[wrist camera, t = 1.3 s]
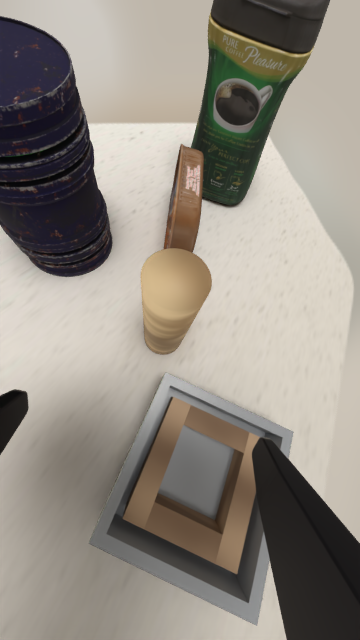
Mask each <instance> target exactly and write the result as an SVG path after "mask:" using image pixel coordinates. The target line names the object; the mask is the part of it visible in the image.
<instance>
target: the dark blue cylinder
mask: <svg viewBox="0 0 360 640" xmlns="http://www.w3.org/2000/svg"><path fill="white" fill-rule="evenodd" d="M93 167H94V149H93V146H92V143H91V141H90V135H89V129H88V124H87V120H86V115H85V112H84V109H83V107H82V105H81V101H80V96H79V93H78V89H77V87H76V79H75V74H74V70H73V66H72V61H71V58H70V55H69V53H68V51H67V50H66V48H65V47H64V46H63V45H62V44H61V43H60V42H59V41H58V40H57V39H56V38H54V37H53V36H52V35H50V34H48V33H47V32H45V31H43V30H41V29H39V28H37V27H35V26H32V25H30V24H27V23H24V22H22V21H18V20H15V19H11V18H7V17H2V16H0V225H1V227H2V228H3V230H4V231H5V232H6V234H7V235H8V236H9V237H10V238H11V239H12V240H13V242H14V243H15V244H16V245H17V246H18V247H19V248H20V250H21V251H22V252H24V253H25V254H26V255H27V256H28V257H29V258H30V260H31V261H32V262H33V263H34V264H35V265H36V266H37V267H38V268H40V269H41V270H43V271H45V272H46V273H49V274H52V275H56V276H63V277H71V276H79V275H83V274H86V273H89V272H91V271H93V270H95V269H96V268H98V267H99V266H100V265H101V264H103V263H104V261H105V260H106V259H107V258H108V256H109V254H110V252H111V249H112V236H111V232H110V224H109V218H108V214H107V207H106V203H105V201H104V199H103V196H102V194H101V192H100V190H99V189H98V186H97V182H96V178H95V174H94V169H93Z"/></svg>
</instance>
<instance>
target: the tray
mask: <svg viewBox="0 0 360 640" xmlns="http://www.w3.org/2000/svg"><path fill="white" fill-rule="evenodd" d="M171 397H175V398H177V399H180V400H182V401H184V402H186V403H188V404H190V405H192V406H194V407H197V408H199V409H201V410H203V411H205V412H207V413H209V414H211V415H214V416H216V417H218V418H220V419H222V420H224V421H226V422H229V423H231V424H233V425H235V426H237V427H239V428H241V429H243V430H246V431H248V432H250V433H252V434H254V435H256V436H258V437H265V438H270V439H271V440H273V442H274V443H275V444H276V445H277V446H278V447H279V449H280V450H281V451H282V452H283V453H284V455H285V456H286V457H287V458H289V453H290V447H291V442H292V437H293V431H291V430H288V429H286V428H284V427H282V426H280V425H278V424H276V423H273V422H271V421H269V420H267V419H265V418H263V417H261V416H259V415H256V414H254V413H252V412H250V411H248V410H246V409H244V408H241V407H239V406H237V405H235V404H233V403H231V402H229V401H226V400H224V399H222V398H220V397H218V396H216V395H214V394H211V393H209V392H207V391H205V390H203V389H201V388H199V387H196V386H194V385H192V384H190V383H188V382H186V381H184V380H181V379H179V378H177V377H175V376H173V375H171V374H169V373H165V374H164V376H163V378H162V380H161V382H160V385H159V387H158V389H157V391H156V393H155V396H154V398H153V400H152V402H151V404H150V407H149V409H148V411H147V413H146V416H145V418H144V420H143V422H142V424H141V427H140V429H139V431H138V433H137V435H136V438H135V440H134V442H133V444H132V447H131V449H130V451H129V453H128V455H127V458H126V460H125V462H124V464H123V466H122V469H121V471H120V473H119V475H118V477H117V480H116V482H115V484H114V486H113V489H112V491H111V493H110V495H109V497H108V500H107V502H106V504H105V506H104V508H103V511H102V513H101V515H100V517H99V520H98V522H97V525H96V527H95V530H94V532H93V534H92V537H91V539H90V542H89V544H91V545H93V546H95V547H97V548H99V549H101V550H103V551H105V552H107V553H109V554H111V555H113V556H115V557H117V558H119V559H121V560H123V561H125V562H127V563H130V564H132V565H134V566H136V567H138V568H140V569H142V570H144V571H146V572H148V573H150V574H152V575H154V576H156V577H158V578H160V579H162V580H164V581H166V582H168V583H170V584H172V585H174V586H177V587H179V588H181V589H183V590H185V591H187V592H189V593H191V594H193V595H195V596H197V597H199V598H201V599H203V600H205V601H207V602H209V603H211V604H213V605H215V606H217V607H219V608H221V609H224V610H226V611H228V612H230V613H232V614H234V615H236V616H238V617H240V618H242V619H244V620H246V621H248V622H250V623H252V624H254V625H256V626H257V623H258V617H259V612H260V607H261V601H262V596H263V591H264V586H265V580H266V575H267V570H268V564H269V559H270V558H269V554H268V549H267V544H266V539H265V535H264V530H263V525H262V521H261V516H260V511H259V506H258V501H257V494H255V498H254V502H253V507H252V511H251V515H250V520H249V524H248V528H247V533H246V537H245V542H244V546H243V550H242V555H241V559H240V563H239V568H238V572H237V574H235V573H233V572H231V571H229V570H227V569H225V568H223V567H221V566H218V565H216V564H214V563H212V562H210V561H208V560H206V559H204V558H202V557H200V556H198V555H196V554H194V553H192V552H190V551H188V550H186V549H183V548H181V547H179V546H177V545H175V544H173V543H171V542H169V541H167V540H165V539H163V538H161V537H159V536H157V535H155V534H153V533H150V532H148V531H146V530H144V529H142V528H140V527H138V526H136V525H134V524H132V523H130V522H128V521H126V520H124V519H123V514H124V509H125V505H126V503H127V501H128V498H129V496H130V493H131V491H132V489H133V486H134V484H135V482H136V479H137V477H138V474H139V472H140V470H141V467H142V465H143V463H144V460H145V458H146V455H147V453H148V451H149V448H150V446H151V444H152V441H153V439H154V436H155V434H156V432H157V429H158V427H159V425H160V422H161V420H162V417H163V415H164V413H165V410H166V408H167V406H168V403H169V401H170V398H171ZM234 450H235V449H234V448H232V447H229V446H227V445H225V444H223V443H221V442H219V441H217V440H215V439H212V438H210V437H208V436H206V435H204V434H202V433H200V432H198V431H196V430H193V429H191V428H189V427H187V426H185V425H183V427H182V430H181V433H180V435H179V438H178V441H177V443H176V446H175V449H174V451H173V454H172V456H171V459H170V462H169V464H168V467H167V470H166V472H165V475H164V478H163V480H162V483H161V485H160V488H159V491H158V493H159V494H161V495H163V496H166V497H168V498H170V499H172V500H174V501H176V502H178V503H180V504H182V505H184V506H186V507H188V508H190V509H193V510H195V511H197V512H199V513H201V514H203V515H205V516H207V517H209V518H211V519H213V520H215V518H216V515H217V511H218V507H219V504H220V500H221V497H222V493H223V489H224V486H225V482H226V479H227V475H228V472H229V468H230V464H231V461H232V457H233V454H234Z"/></svg>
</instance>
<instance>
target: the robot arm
mask: <svg viewBox="0 0 360 640" xmlns="http://www.w3.org/2000/svg"><path fill="white" fill-rule="evenodd" d="M27 411H28V395H27V392H26V391H22V390H16V389H15V390H11V391H9V392H7V393H5V394H3V395H1V396H0V455H1V453H2V452H3V450H4V449H5V447H6V445H7V444H8V442H9V441H10V439H11V437H12V436H13V434H14V433H15V431H16V429H17V428H18V426H19V425H20V423H21V422H22V420H23V418H24V417H25V415H26V414H27ZM252 461H253V469H254V478H255V486H256V494H257V501H258V506H259V511H260V516H261V521H262V525H263V530H264V535H265V539H266V544H267V549H268V554H269V558H270V563H271V568H272V572H273V577H274V582H275V586H276V591H277V596H278V601H279V605H280V610H281V615H282V619H283V624H284V629H285V633H286V638H287V640H360V543H359V542H358V541H357V540H356V538H355V537H354V536H353V535H352V534H351V533H350V531H349V530H348V529H347V528H346V527H345V525H344V524H343V523H342V522H341V521H340V520H339V519H338V517H337V516H336V515H335V514H334V513H333V511H332V510H331V509H330V508H329V507H328V505H327V504H326V503H325V502H324V501H323V499H322V498H321V497H320V496H319V495H318V494H317V492H316V491H315V490H314V489H313V488H312V486H311V485H310V484H309V483H308V482H307V481H306V479H305V478H304V477H303V476H302V475H301V473H300V472H299V471H298V470H297V469H296V468H295V466H294V465H293V464H292V463H291V462H290V460H289V459H288V458H287V457H286V456H285V455H284V453H283V452H282V451H281V450H280V449H279V447H278V446H277V445H276V444H275V443H274V442H273V440H271V439H270V438H265V437H260V438H259V439H258V441H257V443H256V445H255V446H254V448H253V450H252Z"/></svg>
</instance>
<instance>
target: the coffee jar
mask: <svg viewBox="0 0 360 640" xmlns="http://www.w3.org/2000/svg"><path fill="white" fill-rule="evenodd" d="M329 2H330V0H214V1H213V5H212V9H211V13H210V16H209V24H208V46H209V63H208V71H207V78H206V84H205V89H204V95H203V100H202V105H201V109H200V114H199V118H198V122H197V126H196V130H195V134H194V138H193V142H192V146H191V148H192V149H196V150H199V151H201V152H202V153H203V157H204V165H203V188H202V196H203V197H205V198H208V199H210V200H213V201H216V202H219V203H223V204H227V205H234V204H237V203H239V202H241V201H242V200H243V199H244V197H245V195H246V193H247V191H248V189H249V187H250V184H251V182H252V179H253V177H254V174H255V171H256V169H257V166H258V163H259V160H260V157H261V154H262V151H263V148H264V145H265V143H266V140H267V137H268V134H269V132H270V129H271V127H272V124H273V121H274V119H275V117H276V114H277V112H278V109H279V107H280V105H281V102H282V100H283V98H284V95H285V93H286V91H287V89H288V87H289V86H290V84H291V83H292V81H293V80H294V78H295V77H296V76H297V75H298V74H299V72H300V71H301V70H302V68H303V67H304V65H305V64H306V62H307V60H308V59H309V57H310V55H311V52H312V50H313V48H314V45H315V42H316V40H317V37H318V34H319V32H320V29H321V26H322V23H323V19H324V16H325V13H326V11H327V8H328V5H329Z"/></svg>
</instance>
